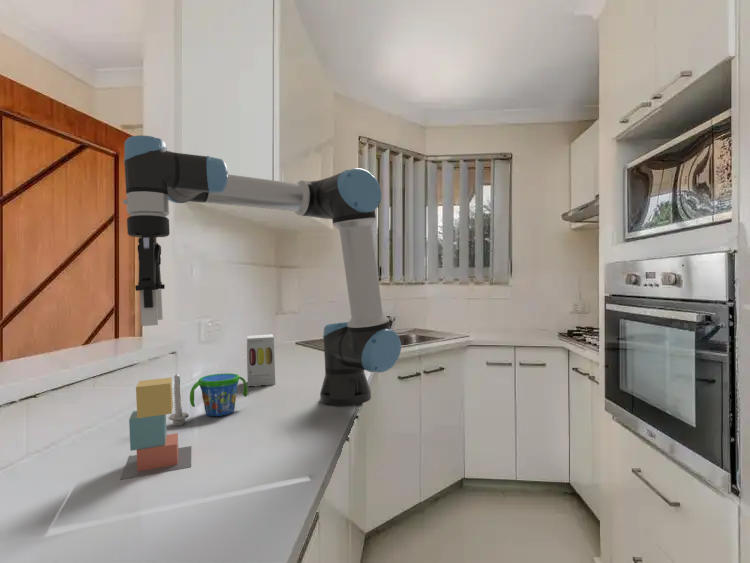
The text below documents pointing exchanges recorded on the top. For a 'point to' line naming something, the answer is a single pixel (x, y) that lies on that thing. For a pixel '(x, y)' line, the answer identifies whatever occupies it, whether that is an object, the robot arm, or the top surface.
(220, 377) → the snack cup
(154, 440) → the teal brick
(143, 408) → the ochre brick
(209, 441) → the top surface
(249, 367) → the supplement box
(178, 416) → the screw
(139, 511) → the top surface
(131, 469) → the base
